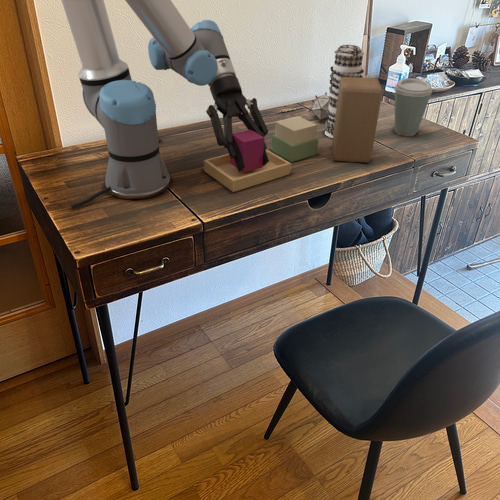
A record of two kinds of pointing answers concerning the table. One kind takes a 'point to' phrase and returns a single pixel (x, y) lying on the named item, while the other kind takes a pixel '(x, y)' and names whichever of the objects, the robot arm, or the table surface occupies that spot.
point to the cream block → (295, 130)
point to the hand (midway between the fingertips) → (253, 166)
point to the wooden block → (356, 119)
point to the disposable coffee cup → (410, 105)
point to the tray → (242, 180)
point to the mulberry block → (249, 149)
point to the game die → (321, 106)
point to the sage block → (294, 149)
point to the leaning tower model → (344, 66)
